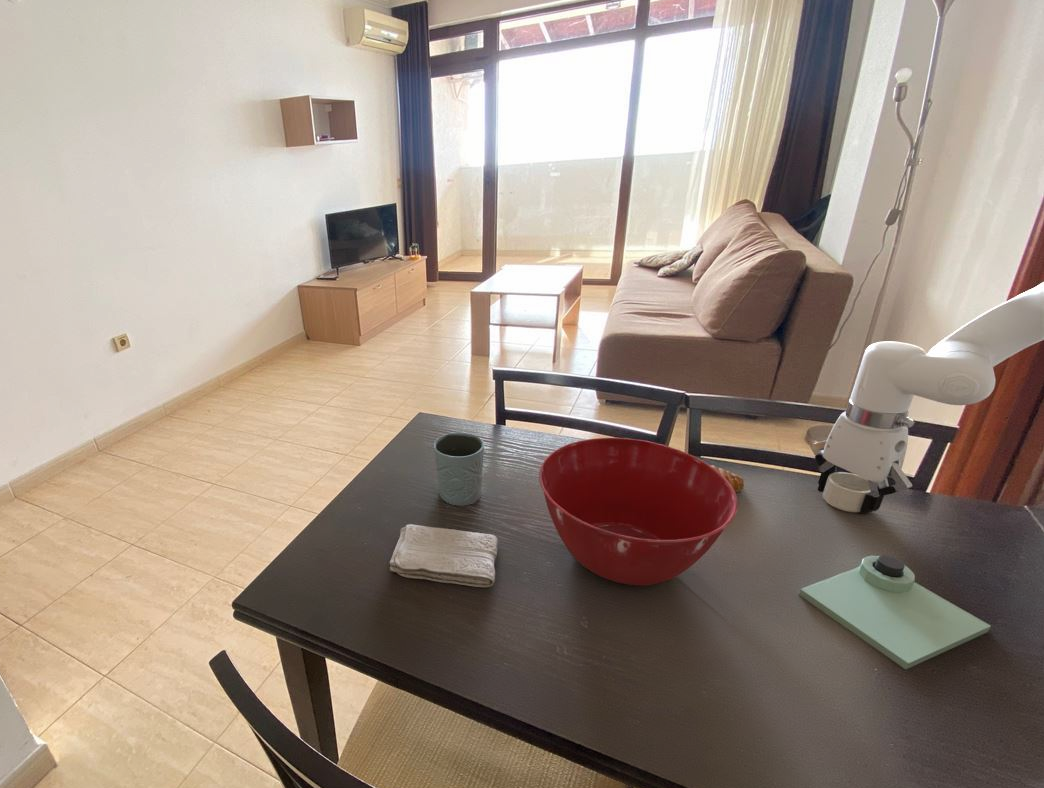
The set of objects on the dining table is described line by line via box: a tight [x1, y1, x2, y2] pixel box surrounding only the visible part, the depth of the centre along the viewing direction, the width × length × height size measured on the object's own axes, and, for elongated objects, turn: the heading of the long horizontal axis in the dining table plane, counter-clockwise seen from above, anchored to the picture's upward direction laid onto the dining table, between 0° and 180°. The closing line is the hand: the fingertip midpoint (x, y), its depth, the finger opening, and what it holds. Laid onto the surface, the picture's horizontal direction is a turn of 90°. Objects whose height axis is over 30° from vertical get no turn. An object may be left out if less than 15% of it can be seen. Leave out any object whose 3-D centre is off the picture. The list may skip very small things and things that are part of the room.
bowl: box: [821, 471, 871, 513], centre depth 99 cm, size 7×7×5 cm
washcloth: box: [389, 523, 499, 588], centre depth 94 cm, size 12×18×3 cm, turn 75°
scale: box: [798, 555, 992, 670], centre depth 77 cm, size 16×14×3 cm
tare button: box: [874, 554, 906, 578], centre depth 81 cm, size 3×3×2 cm
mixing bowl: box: [538, 437, 739, 586], centre depth 89 cm, size 28×28×16 cm
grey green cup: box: [433, 432, 485, 506], centre depth 110 cm, size 10×10×12 cm
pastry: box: [710, 464, 745, 493], centre depth 107 cm, size 9×7×4 cm
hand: (845, 499), depth 99 cm, fingers closed on bowl, 6 cm apart
